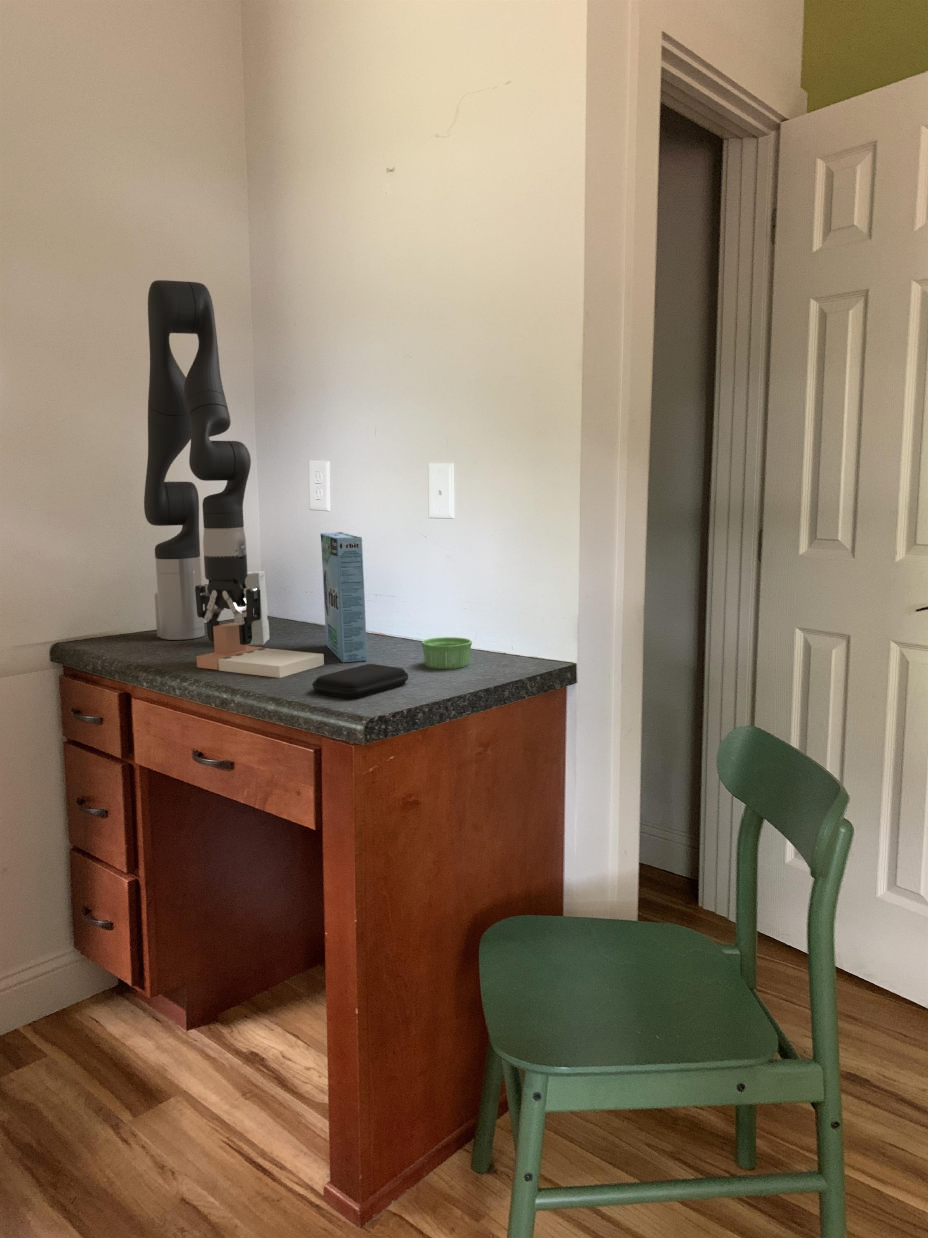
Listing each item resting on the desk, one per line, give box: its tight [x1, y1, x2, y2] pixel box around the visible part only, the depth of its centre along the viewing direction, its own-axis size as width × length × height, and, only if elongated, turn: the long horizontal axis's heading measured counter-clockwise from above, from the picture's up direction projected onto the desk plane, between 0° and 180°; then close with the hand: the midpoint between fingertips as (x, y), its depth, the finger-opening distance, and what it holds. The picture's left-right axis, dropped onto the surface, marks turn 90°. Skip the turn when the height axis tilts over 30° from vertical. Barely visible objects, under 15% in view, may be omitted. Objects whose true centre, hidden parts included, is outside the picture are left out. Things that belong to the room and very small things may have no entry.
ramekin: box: [421, 636, 473, 670], centre depth 162 cm, size 9×9×4 cm
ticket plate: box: [218, 647, 325, 679], centre depth 162 cm, size 14×12×2 cm
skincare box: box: [233, 570, 270, 647], centre depth 187 cm, size 8×6×15 cm
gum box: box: [320, 531, 368, 663], centre depth 173 cm, size 20×5×23 cm, turn 17°
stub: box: [195, 622, 264, 671], centre depth 166 cm, size 5×12×7 cm, turn 151°
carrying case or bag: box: [311, 663, 409, 700], centre depth 145 cm, size 11×3×15 cm
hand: (230, 642), depth 166 cm, fingers open, 7 cm apart
